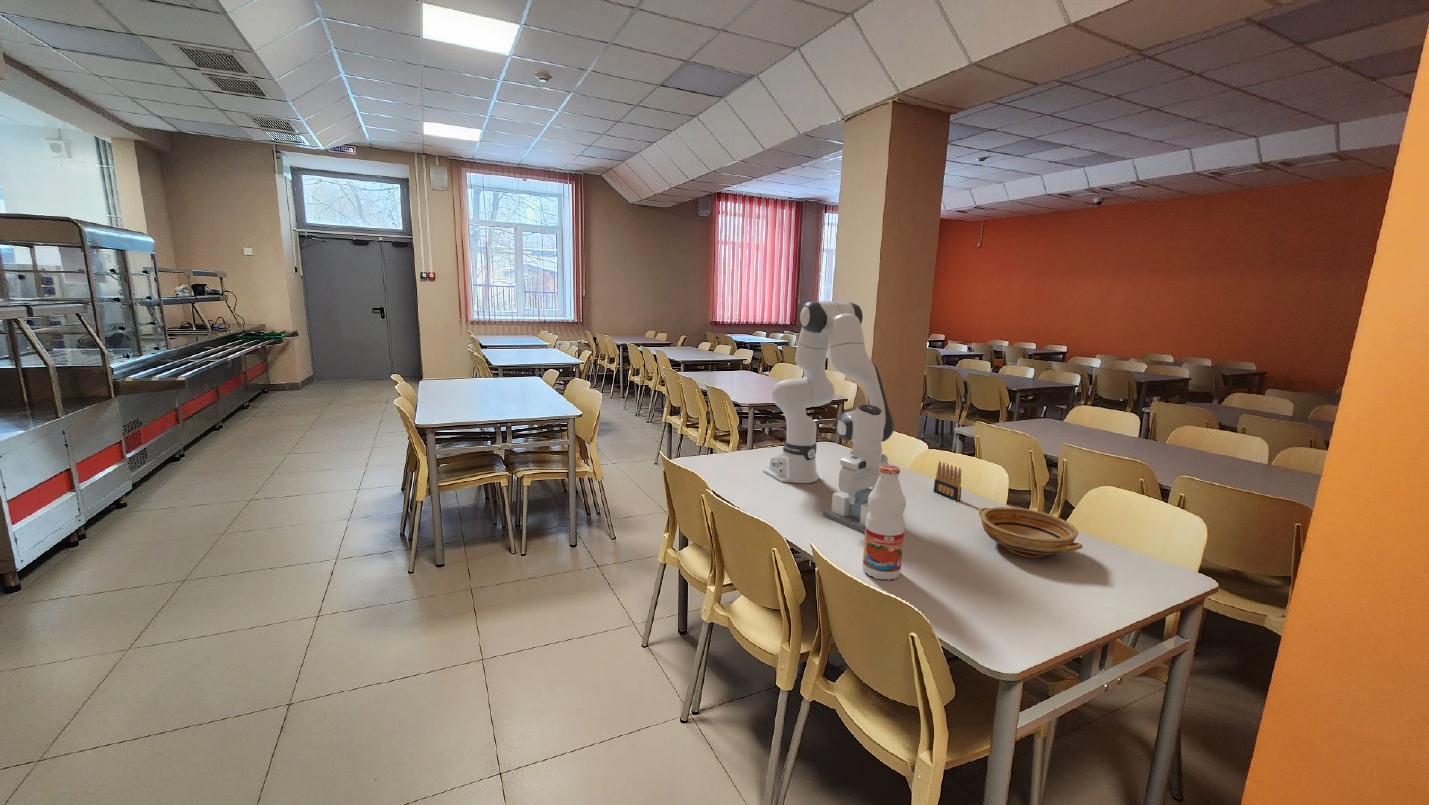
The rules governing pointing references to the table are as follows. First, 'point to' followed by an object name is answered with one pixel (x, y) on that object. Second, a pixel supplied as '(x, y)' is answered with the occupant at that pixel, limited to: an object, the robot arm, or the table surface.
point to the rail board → (845, 520)
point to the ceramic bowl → (1029, 531)
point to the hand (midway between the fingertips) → (863, 500)
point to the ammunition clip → (948, 482)
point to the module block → (860, 501)
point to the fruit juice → (885, 526)
